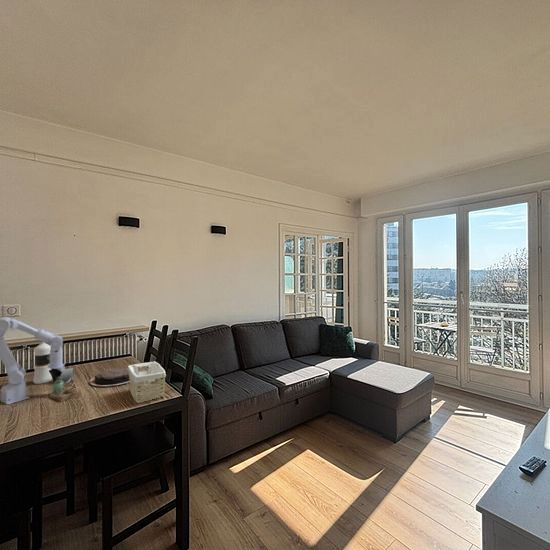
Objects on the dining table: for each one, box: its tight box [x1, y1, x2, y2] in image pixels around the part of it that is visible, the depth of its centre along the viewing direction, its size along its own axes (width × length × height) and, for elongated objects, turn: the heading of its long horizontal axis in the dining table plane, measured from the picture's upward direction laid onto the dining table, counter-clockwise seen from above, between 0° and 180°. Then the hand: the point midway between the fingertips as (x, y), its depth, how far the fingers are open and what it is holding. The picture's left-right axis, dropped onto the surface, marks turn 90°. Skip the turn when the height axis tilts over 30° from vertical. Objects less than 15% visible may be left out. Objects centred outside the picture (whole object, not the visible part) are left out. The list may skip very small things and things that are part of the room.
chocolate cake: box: [89, 367, 129, 388], centre depth 192 cm, size 28×28×7 cm
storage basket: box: [127, 361, 167, 404], centre depth 169 cm, size 24×16×15 cm
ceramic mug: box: [61, 367, 75, 385], centre depth 188 cm, size 11×8×8 cm
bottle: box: [51, 376, 64, 395], centre depth 169 cm, size 4×4×9 cm
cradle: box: [49, 388, 82, 403], centre depth 165 cm, size 10×12×2 cm
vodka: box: [32, 341, 53, 385], centre depth 187 cm, size 9×9×30 cm
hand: (56, 382), depth 170 cm, fingers closed
